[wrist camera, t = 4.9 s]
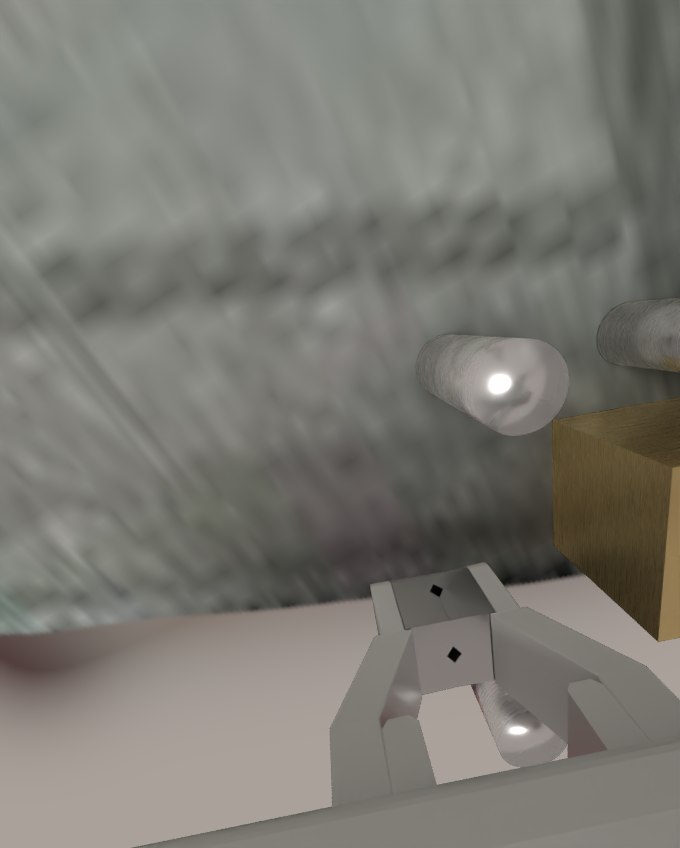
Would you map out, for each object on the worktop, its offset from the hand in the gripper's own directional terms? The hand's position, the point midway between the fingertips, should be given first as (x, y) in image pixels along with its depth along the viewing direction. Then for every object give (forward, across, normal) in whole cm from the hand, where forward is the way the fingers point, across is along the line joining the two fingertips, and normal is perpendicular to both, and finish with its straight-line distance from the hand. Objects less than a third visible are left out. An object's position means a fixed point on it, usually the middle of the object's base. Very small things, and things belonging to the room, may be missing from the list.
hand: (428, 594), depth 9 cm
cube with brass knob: (+4, -8, 0) cm, 9 cm away
